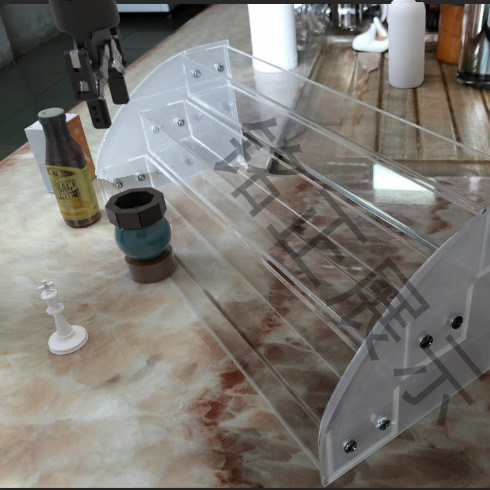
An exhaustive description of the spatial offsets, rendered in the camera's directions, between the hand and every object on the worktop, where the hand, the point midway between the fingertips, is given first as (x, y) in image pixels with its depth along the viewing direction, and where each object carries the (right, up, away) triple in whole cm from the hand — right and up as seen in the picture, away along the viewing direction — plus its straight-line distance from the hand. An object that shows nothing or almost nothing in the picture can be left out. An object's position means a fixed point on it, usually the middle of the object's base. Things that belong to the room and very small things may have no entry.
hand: (113, 115), depth 80 cm
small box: (-21, -6, +36) cm, 42 cm away
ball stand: (+2, -21, +11) cm, 24 cm away
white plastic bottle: (+49, +23, +71) cm, 90 cm away
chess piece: (-5, -30, -2) cm, 31 cm away
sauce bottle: (-14, -13, +25) cm, 31 cm away
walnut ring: (+2, -13, +5) cm, 14 cm away
